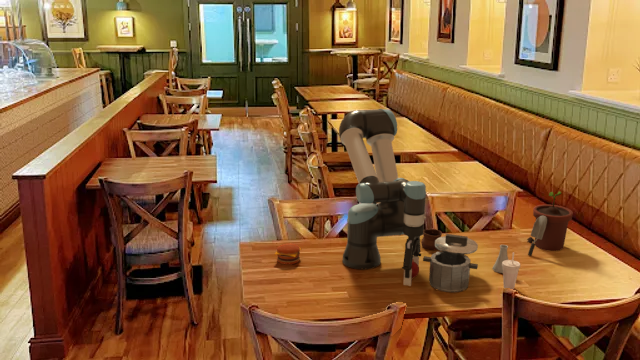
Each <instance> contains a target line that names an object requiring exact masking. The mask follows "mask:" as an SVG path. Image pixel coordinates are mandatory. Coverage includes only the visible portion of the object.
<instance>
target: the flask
mask: <svg viewBox="0 0 640 360" xmlns="http://www.w3.org/2000/svg"><path fill="white" fill-rule="evenodd" d="M499 248H500V249H499V253H498V256H497V258H496V260H495V263H494V264H493V266H492V270H493V271H494V273H500V274H503V266H502V262H503V261H504V260H509V257H508V248H509V246H508V245H507V244H500V245H499Z"/></svg>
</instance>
